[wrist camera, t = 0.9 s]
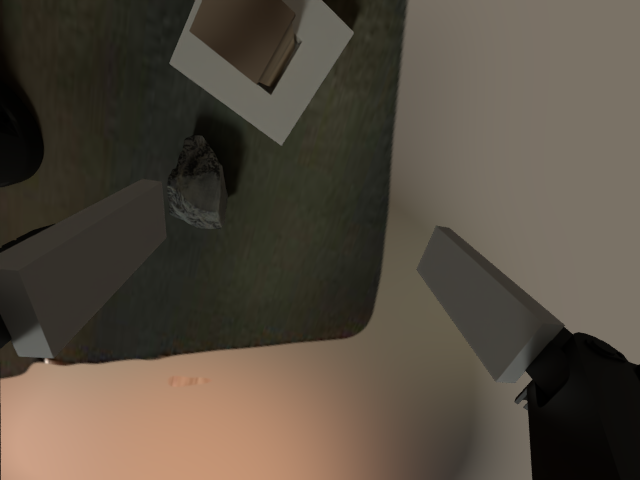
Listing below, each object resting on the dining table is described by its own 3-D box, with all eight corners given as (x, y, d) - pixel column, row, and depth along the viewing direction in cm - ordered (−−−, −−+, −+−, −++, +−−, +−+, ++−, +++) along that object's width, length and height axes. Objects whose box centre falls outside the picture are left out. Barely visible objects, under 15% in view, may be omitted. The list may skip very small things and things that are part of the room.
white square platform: (184, 67, 31) (169, 63, 28) (242, -65, 26) (233, -90, 23) (283, 141, 36) (281, 145, 32) (347, 40, 31) (354, 32, 27)
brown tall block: (233, 58, 31) (189, 31, 18) (256, 11, 29) (225, -54, 17) (272, 90, 32) (256, 84, 20) (297, 48, 30) (295, 13, 18)
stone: (132, 180, 27) (215, 238, 31) (196, 119, 31) (263, 178, 34) (141, 199, 35) (206, 243, 39) (191, 150, 39) (246, 194, 42)
